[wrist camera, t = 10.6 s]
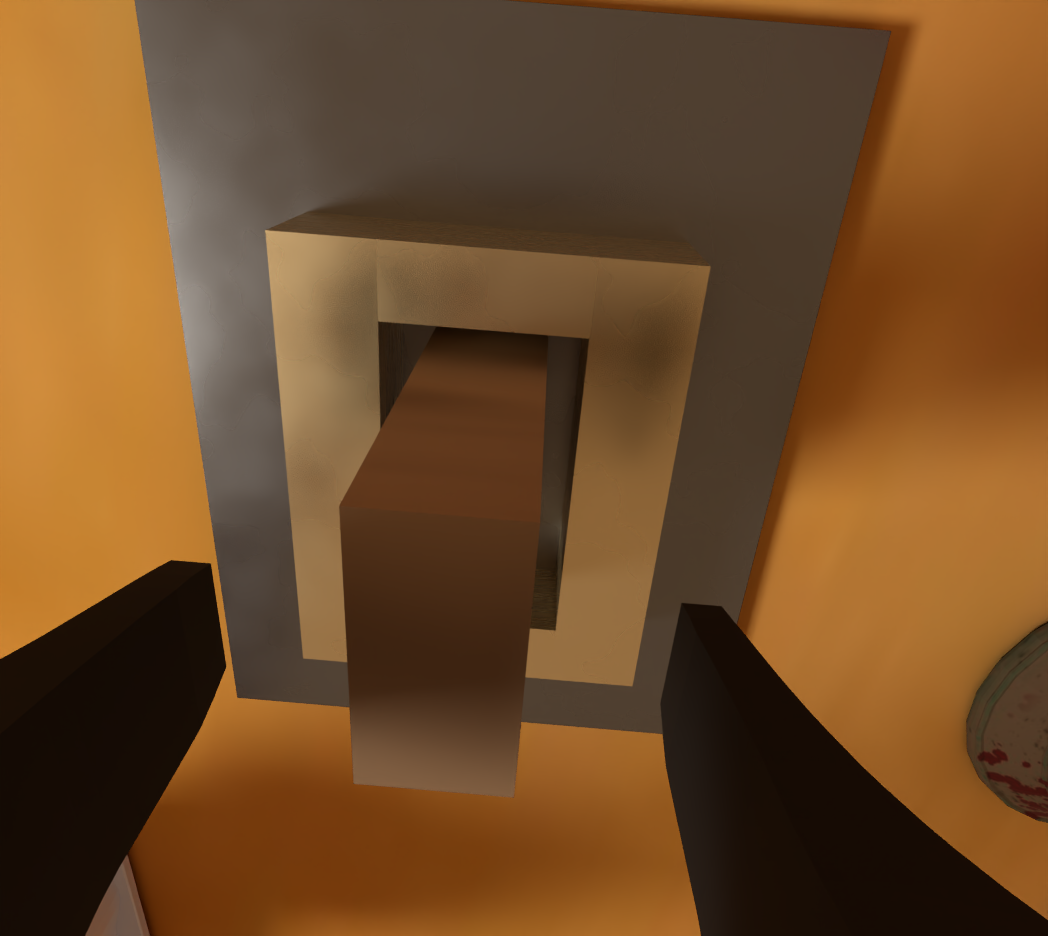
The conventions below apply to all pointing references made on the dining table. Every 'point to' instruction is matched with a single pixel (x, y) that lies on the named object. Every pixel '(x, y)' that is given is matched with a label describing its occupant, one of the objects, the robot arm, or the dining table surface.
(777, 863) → the robot arm
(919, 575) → the dining table surface
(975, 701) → the candlestick holder
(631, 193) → the grey framed slot plate
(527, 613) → the thick wooden plank
